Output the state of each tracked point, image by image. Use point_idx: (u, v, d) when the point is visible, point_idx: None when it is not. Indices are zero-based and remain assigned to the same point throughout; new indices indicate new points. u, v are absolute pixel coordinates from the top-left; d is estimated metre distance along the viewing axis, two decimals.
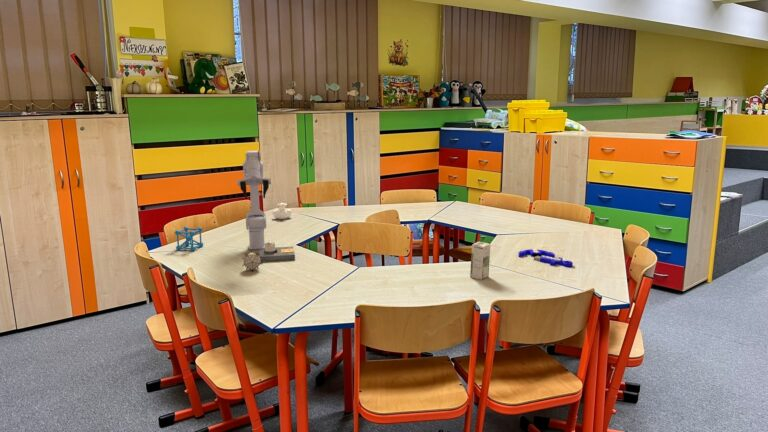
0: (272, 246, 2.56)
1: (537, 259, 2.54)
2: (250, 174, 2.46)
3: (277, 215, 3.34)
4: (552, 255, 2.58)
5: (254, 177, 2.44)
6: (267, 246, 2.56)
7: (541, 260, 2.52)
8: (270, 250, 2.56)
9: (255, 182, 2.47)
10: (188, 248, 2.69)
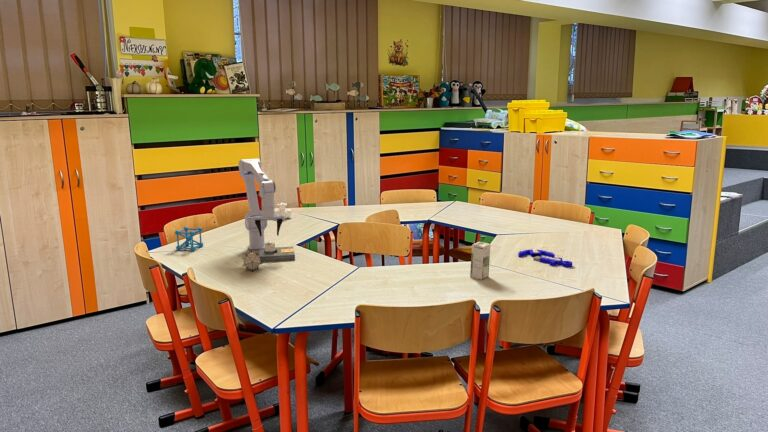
0: (272, 246, 2.56)
1: (537, 259, 2.54)
2: (265, 214, 2.52)
3: None
4: (552, 255, 2.58)
5: (269, 219, 2.52)
6: (267, 246, 2.56)
7: (541, 260, 2.52)
8: (270, 250, 2.56)
9: None
10: (188, 248, 2.69)
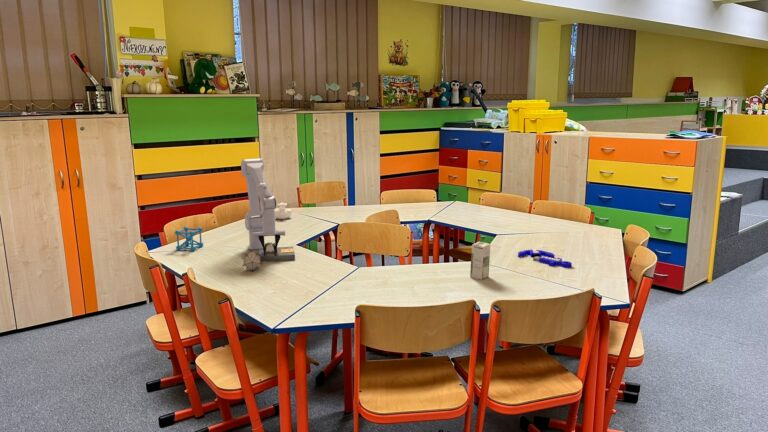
0: (272, 246, 2.56)
1: (536, 259, 2.53)
2: (265, 229, 2.54)
3: (277, 215, 3.34)
4: (552, 256, 2.57)
5: (269, 235, 2.54)
6: (267, 246, 2.56)
7: (540, 260, 2.51)
8: (270, 250, 2.56)
9: None
10: (188, 248, 2.69)
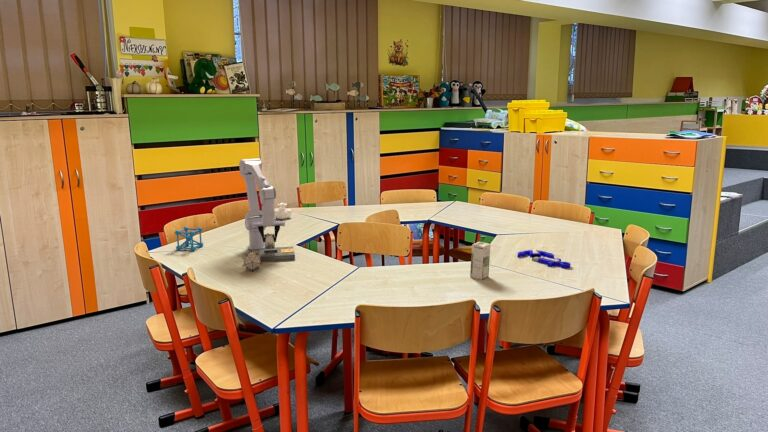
0: (272, 237, 2.55)
1: (535, 260, 2.53)
2: (265, 220, 2.53)
3: (277, 215, 3.34)
4: (551, 256, 2.57)
5: None
6: (267, 237, 2.55)
7: (539, 261, 2.51)
8: (270, 241, 2.55)
9: None
10: (188, 248, 2.69)
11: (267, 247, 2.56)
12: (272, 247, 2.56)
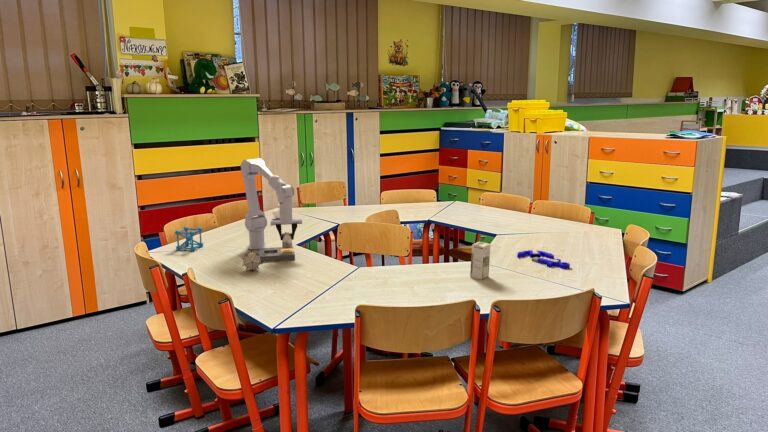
0: (289, 236, 2.57)
1: (535, 260, 2.52)
2: (283, 218, 2.54)
3: (277, 215, 3.34)
4: (551, 256, 2.56)
5: None
6: (284, 236, 2.56)
7: (539, 261, 2.50)
8: (287, 240, 2.57)
9: None
10: (188, 248, 2.69)
11: (285, 246, 2.58)
12: (290, 246, 2.58)
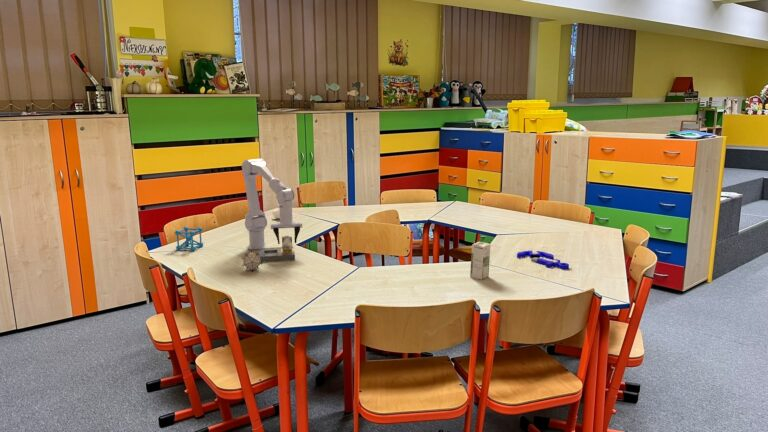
0: (289, 239, 2.57)
1: (534, 260, 2.52)
2: (283, 221, 2.54)
3: (277, 215, 3.34)
4: (551, 257, 2.55)
5: (287, 227, 2.55)
6: (284, 239, 2.57)
7: (538, 261, 2.50)
8: (287, 243, 2.57)
9: None
10: (188, 248, 2.69)
11: (285, 249, 2.58)
12: (290, 249, 2.58)
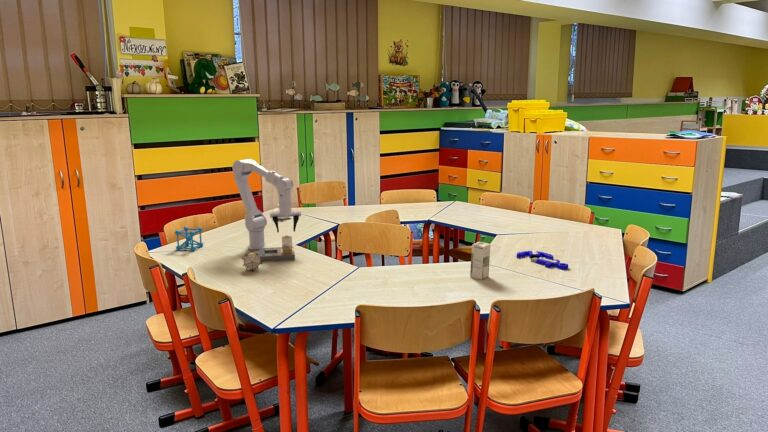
0: (289, 239, 2.57)
1: (534, 261, 2.52)
2: (282, 210, 2.59)
3: None
4: (551, 257, 2.55)
5: (286, 215, 2.59)
6: (284, 239, 2.57)
7: (537, 262, 2.50)
8: (287, 243, 2.57)
9: None
10: (188, 248, 2.69)
11: (285, 249, 2.58)
12: (290, 249, 2.58)
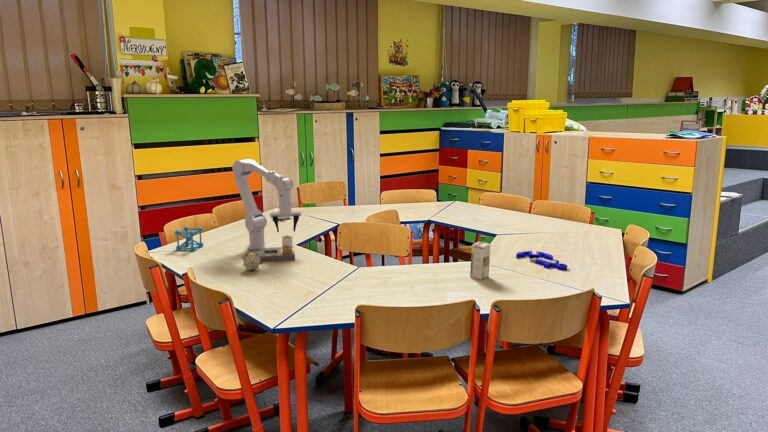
0: (289, 239, 2.57)
1: (533, 261, 2.51)
2: (282, 210, 2.59)
3: None
4: (550, 257, 2.54)
5: (286, 215, 2.59)
6: (284, 239, 2.57)
7: (536, 262, 2.49)
8: (287, 243, 2.57)
9: None
10: (188, 248, 2.69)
11: (285, 249, 2.58)
12: (290, 249, 2.58)
